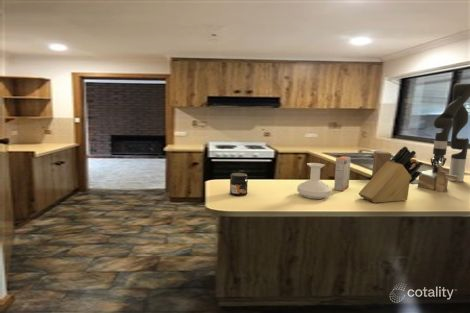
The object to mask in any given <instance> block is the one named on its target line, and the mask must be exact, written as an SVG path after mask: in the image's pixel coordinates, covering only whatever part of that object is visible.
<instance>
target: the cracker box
mask: <svg viewBox="0 0 470 313" xmlns="http://www.w3.org/2000/svg"><path fill="white" fill-rule="evenodd" d="M351 158H352V157H351V156H345V155H343V156H340V157H337V158H335V168H334V169H335V170H334V187H333V190H334V191H338V192H344V191H345V190H347V189H348V188H349V186H350V174H351V171H350V170H351Z"/></svg>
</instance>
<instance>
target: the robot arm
mask: <svg viewBox="0 0 470 313" xmlns="http://www.w3.org/2000/svg"><path fill="white" fill-rule="evenodd" d="M453 85H454V86H453V89H452V102H450V103H449V104H448V105H447V106H446V108H445V109H444V111H443V112H442V113H441V114H439V116H437V117H435V120H434V122H433V126H434V128H436V129H443V130H442V131H438V132H436V133H435V135H434V136H435V137H434V142H433V149H432V154H433V157H431V158H430V164H431V167H432V168H433V167H434V170H433V172H435V173H437V170H438V166H441V167H444V165H445V163H447V162H446V161H447V157H445V156H446V155H447V149H448V138H449V134H450V132H451V137H450V138H451V139H450V148H451V149H452V150H459V151H460V152H456V153H453V154H451V157H450V165H449V172H448V173H449V174H450V175H455V176H459V180H453V179H448V181H451V182H457V183H459V182H460V183H461V182H462V183H463V182H464V178H465V172H466V171H465V170H466V161H467V154H468V148H469V143H470V142H469V141H470V140H469V138H468V137H458V134H459V133H460V131H461V130H463V128H465V126H467V124H468V122H469V111H468V110H467V108H466V107H465V106H464V105H465V103H466V102H467V101H468V100H469V98H470V83H464V82H463V83H462V82H460V83H459V82H458V83H455V84H453Z"/></svg>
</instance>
